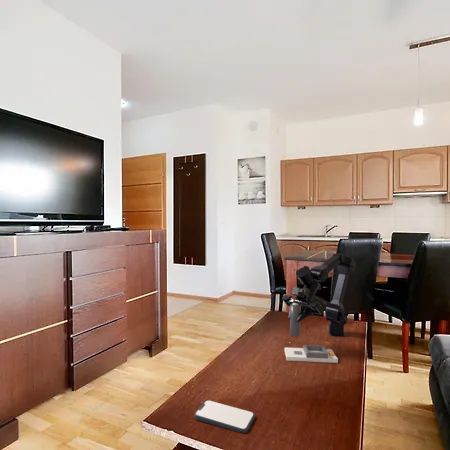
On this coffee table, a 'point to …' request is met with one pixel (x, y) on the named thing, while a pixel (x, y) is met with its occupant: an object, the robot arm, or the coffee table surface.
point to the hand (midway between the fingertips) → (293, 320)
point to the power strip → (311, 354)
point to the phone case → (225, 416)
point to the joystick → (294, 319)
